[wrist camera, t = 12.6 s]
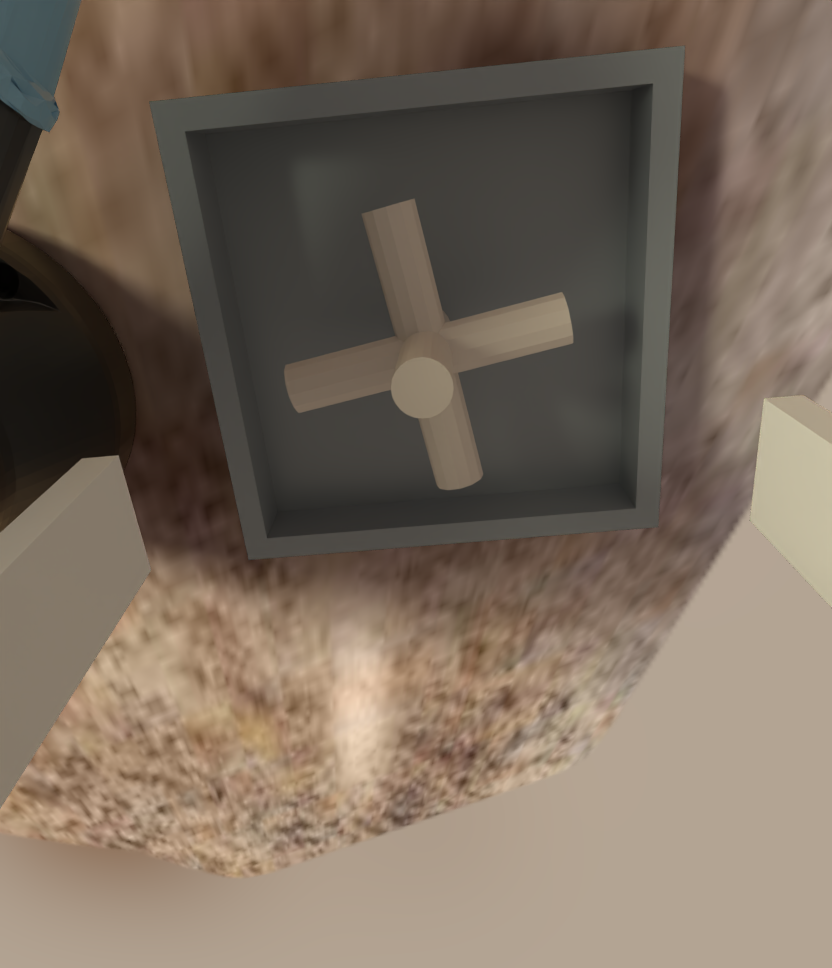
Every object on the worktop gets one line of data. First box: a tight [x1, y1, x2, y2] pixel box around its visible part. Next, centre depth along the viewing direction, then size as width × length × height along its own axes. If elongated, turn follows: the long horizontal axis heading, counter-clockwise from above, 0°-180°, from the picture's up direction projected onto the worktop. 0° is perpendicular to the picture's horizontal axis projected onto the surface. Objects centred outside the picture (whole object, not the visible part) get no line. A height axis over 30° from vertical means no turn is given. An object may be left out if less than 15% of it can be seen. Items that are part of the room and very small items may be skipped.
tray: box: [149, 46, 685, 560], centre depth 29 cm, size 18×18×3 cm
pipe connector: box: [284, 199, 573, 490], centre depth 25 cm, size 10×10×10 cm
